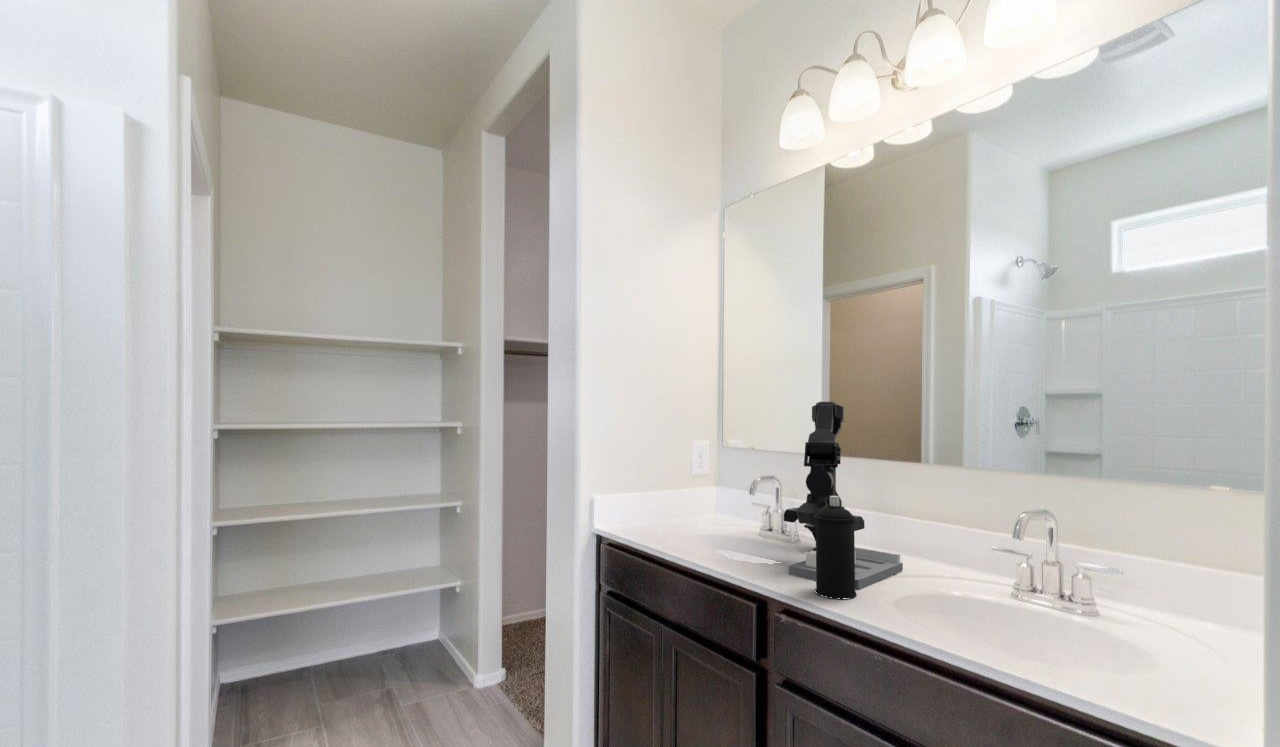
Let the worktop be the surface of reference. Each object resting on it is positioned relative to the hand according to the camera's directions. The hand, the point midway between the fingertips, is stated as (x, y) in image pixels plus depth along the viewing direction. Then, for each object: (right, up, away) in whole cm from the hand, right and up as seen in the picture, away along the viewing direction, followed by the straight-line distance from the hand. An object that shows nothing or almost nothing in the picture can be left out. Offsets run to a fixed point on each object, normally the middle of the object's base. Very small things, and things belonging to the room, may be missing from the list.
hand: (823, 555), depth 152 cm
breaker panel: (+4, -3, -4) cm, 7 cm away
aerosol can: (-3, -2, -21) cm, 21 cm away
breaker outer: (-4, -1, -6) cm, 7 cm away
